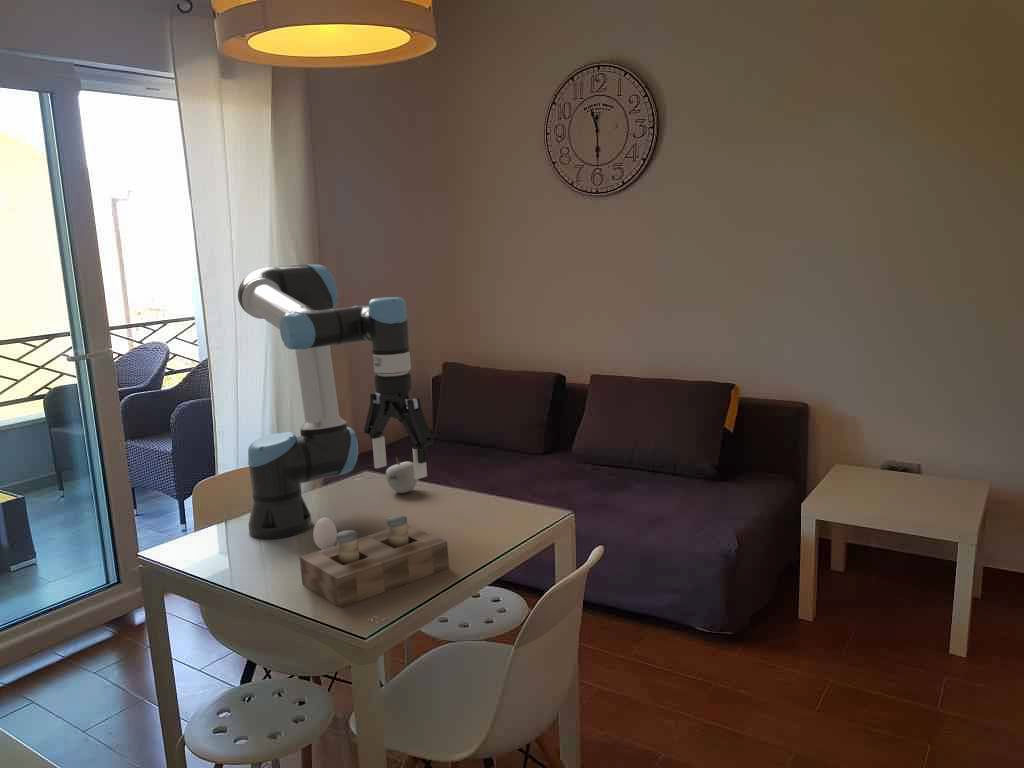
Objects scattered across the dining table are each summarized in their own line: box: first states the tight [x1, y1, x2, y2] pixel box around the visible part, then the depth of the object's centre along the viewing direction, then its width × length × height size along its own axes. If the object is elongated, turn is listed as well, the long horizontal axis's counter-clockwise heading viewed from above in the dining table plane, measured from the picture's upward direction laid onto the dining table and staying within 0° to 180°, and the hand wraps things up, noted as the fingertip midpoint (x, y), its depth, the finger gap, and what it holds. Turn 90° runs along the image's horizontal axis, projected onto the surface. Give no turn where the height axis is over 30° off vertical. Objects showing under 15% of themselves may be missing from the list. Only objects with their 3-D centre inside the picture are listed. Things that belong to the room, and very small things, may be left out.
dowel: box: [336, 529, 360, 565], centre depth 167 cm, size 4×4×6 cm
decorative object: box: [385, 457, 419, 494], centre depth 228 cm, size 9×9×10 cm
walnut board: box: [299, 524, 450, 609], centre depth 172 cm, size 16×26×6 cm, turn 131°
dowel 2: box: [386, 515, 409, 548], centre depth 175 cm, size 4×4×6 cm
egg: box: [312, 517, 338, 550], centre depth 188 cm, size 5×5×8 cm
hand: (400, 472), depth 173 cm, fingers open, 13 cm apart
